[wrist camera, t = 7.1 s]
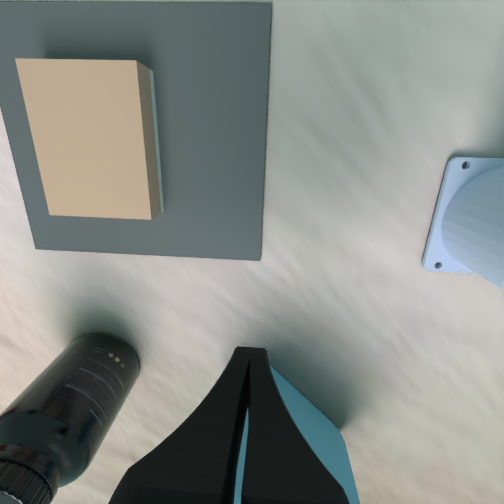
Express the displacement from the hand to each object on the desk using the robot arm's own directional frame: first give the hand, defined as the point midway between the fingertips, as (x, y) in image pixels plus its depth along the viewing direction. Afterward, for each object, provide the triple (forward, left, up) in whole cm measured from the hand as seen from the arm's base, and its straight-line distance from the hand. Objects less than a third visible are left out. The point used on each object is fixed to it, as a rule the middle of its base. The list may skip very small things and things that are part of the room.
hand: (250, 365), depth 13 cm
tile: (+7, -9, -9) cm, 15 cm away
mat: (+9, -9, -10) cm, 16 cm away
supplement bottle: (+14, +10, -11) cm, 20 cm away
